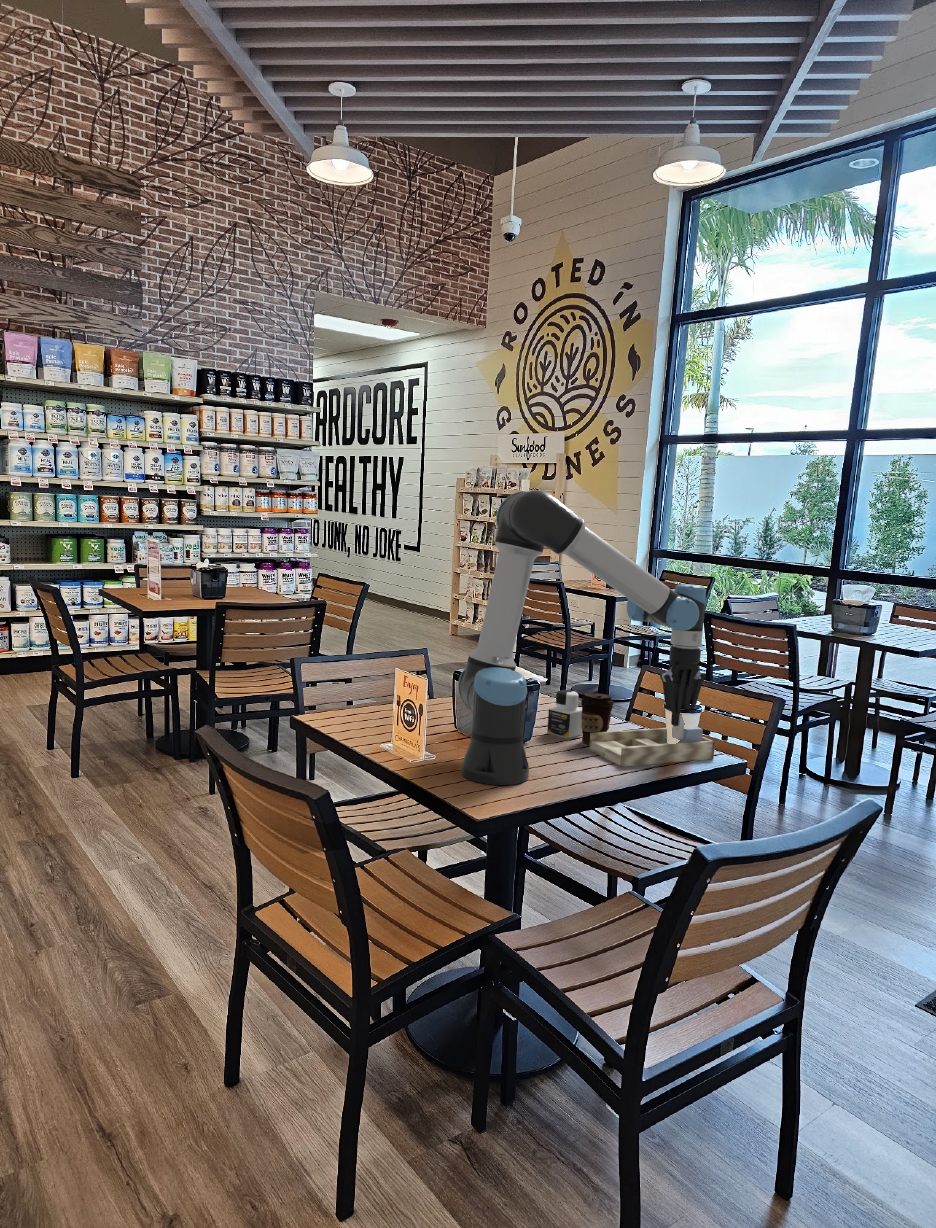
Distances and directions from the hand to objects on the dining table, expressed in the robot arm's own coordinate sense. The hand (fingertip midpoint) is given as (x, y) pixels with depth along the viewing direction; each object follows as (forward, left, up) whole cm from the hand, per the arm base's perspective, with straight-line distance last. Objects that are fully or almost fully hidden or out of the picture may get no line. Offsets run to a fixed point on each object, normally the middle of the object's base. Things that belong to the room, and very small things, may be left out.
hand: (677, 737), depth 202 cm
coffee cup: (-14, +16, -5) cm, 22 cm away
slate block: (+3, 0, -2) cm, 4 cm away
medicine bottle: (-17, +26, -5) cm, 32 cm away
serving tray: (-5, +3, -5) cm, 8 cm away
